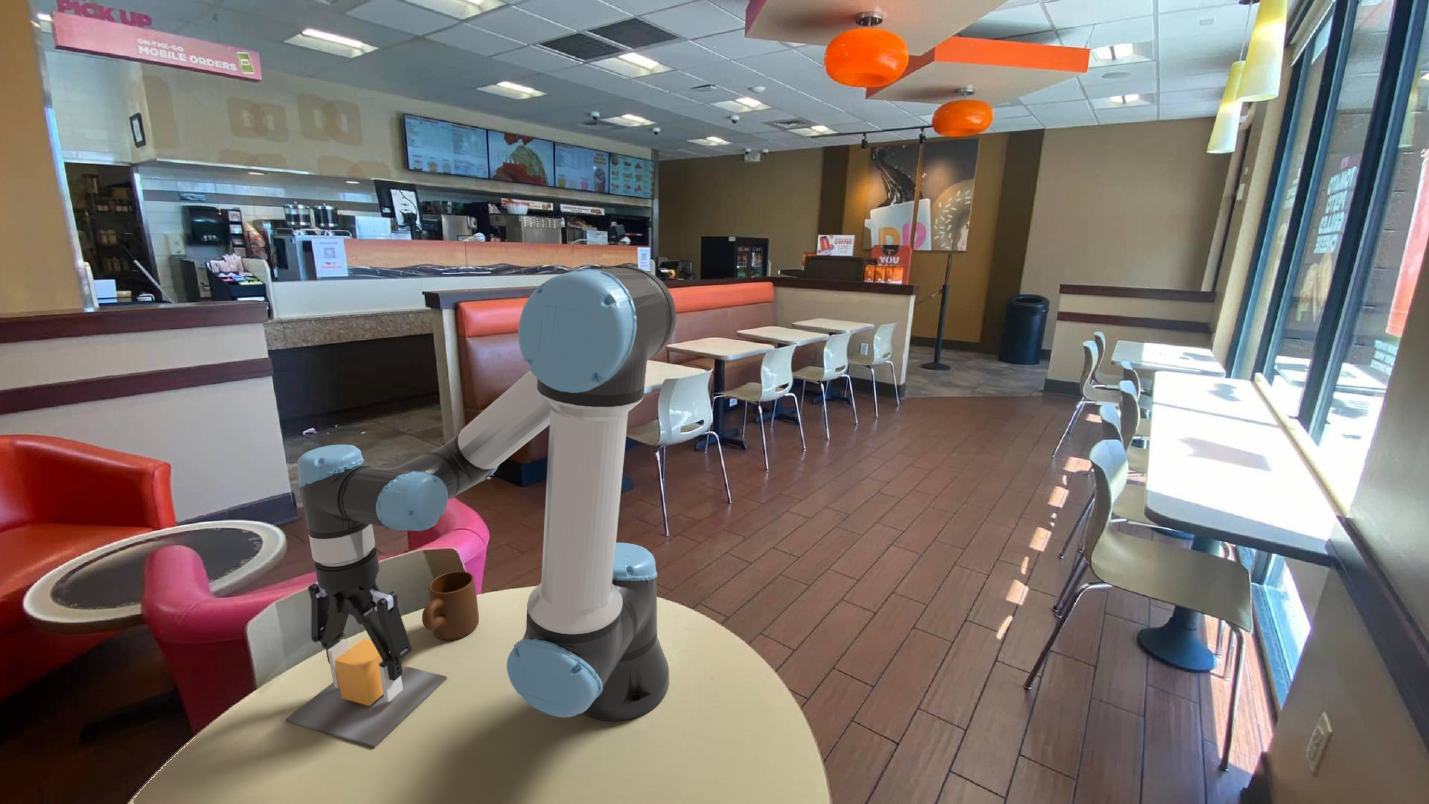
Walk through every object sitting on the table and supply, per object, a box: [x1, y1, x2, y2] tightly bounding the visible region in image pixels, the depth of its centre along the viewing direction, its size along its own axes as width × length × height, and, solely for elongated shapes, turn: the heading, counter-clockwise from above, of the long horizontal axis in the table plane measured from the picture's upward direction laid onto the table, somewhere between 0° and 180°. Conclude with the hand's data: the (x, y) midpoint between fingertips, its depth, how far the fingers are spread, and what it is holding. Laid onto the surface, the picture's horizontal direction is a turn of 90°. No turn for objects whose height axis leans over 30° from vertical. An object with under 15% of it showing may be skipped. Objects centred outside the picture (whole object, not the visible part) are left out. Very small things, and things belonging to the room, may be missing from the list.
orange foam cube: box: [335, 638, 390, 706], centre depth 88 cm, size 5×5×7 cm
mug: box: [421, 570, 480, 641], centre depth 103 cm, size 12×8×9 cm, turn 172°
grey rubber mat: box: [285, 664, 448, 749], centre depth 88 cm, size 16×14×7 cm
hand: (368, 688), depth 89 cm, fingers open, 9 cm apart
